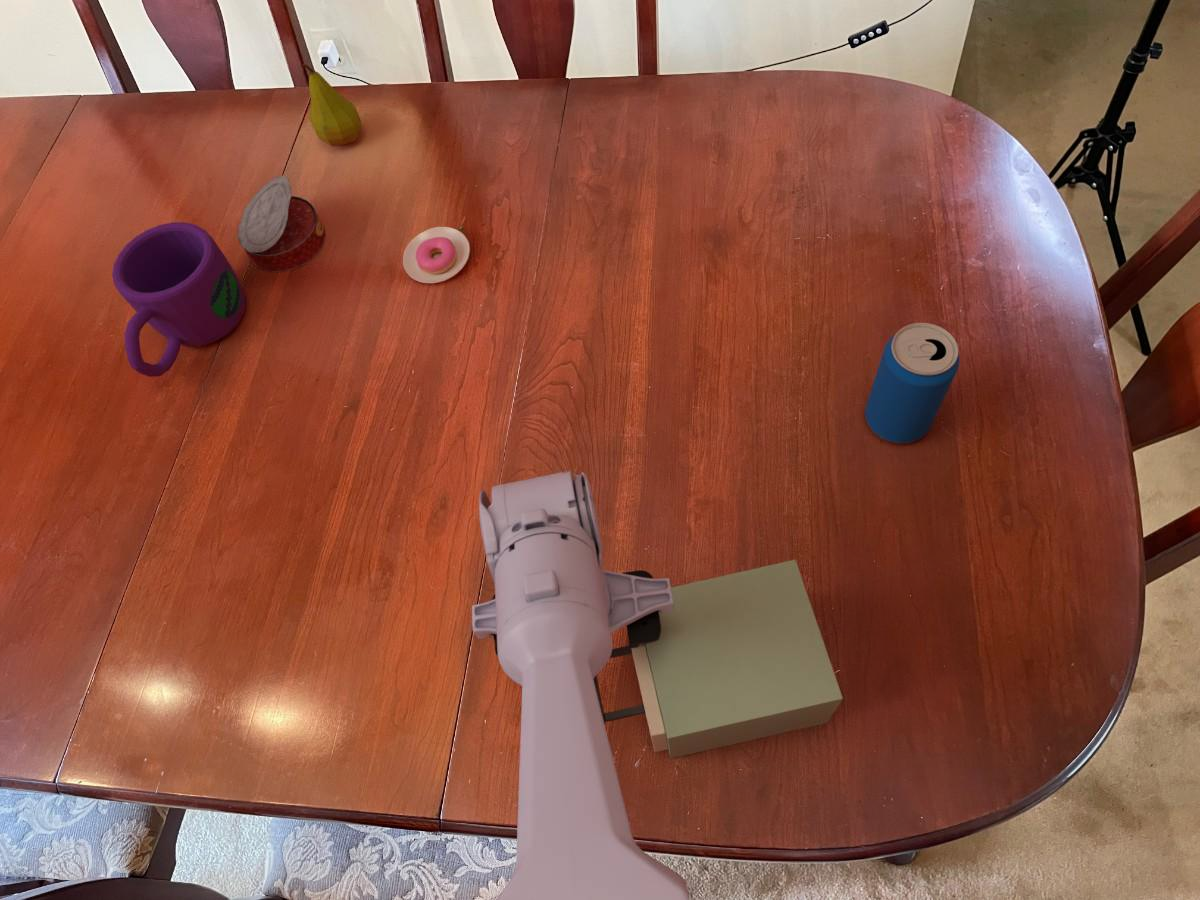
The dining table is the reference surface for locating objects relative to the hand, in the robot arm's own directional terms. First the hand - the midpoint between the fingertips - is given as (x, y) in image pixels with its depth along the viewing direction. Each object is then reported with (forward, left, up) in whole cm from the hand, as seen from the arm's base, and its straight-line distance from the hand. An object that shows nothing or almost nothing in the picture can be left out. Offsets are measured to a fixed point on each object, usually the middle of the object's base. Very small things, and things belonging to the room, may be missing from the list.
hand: (585, 642), depth 69 cm
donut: (+54, +8, -8) cm, 55 cm away
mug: (+49, +38, -8) cm, 63 cm away
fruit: (+78, +19, -8) cm, 81 cm away
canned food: (+61, +27, -8) cm, 67 cm away
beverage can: (+18, -35, -8) cm, 40 cm away
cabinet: (-3, -12, -8) cm, 14 cm away
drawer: (-3, -7, -7) cm, 11 cm away
